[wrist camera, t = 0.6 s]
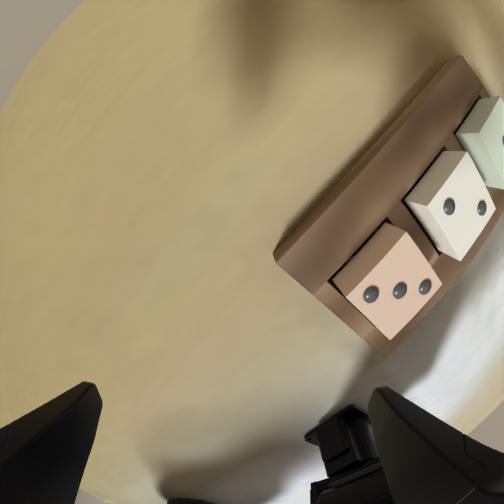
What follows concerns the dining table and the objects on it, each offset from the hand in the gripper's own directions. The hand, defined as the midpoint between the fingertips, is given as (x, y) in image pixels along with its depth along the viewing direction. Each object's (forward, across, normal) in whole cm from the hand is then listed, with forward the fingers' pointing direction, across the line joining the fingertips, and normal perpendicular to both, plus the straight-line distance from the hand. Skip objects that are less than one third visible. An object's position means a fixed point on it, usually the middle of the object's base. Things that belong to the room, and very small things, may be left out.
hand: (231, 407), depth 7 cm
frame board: (+12, -14, -6) cm, 19 cm away
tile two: (+10, -14, -6) cm, 18 cm away
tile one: (+10, -19, -11) cm, 24 cm away
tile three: (+10, -9, 0) cm, 14 cm away
